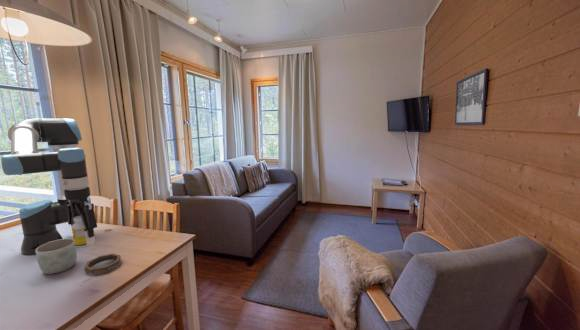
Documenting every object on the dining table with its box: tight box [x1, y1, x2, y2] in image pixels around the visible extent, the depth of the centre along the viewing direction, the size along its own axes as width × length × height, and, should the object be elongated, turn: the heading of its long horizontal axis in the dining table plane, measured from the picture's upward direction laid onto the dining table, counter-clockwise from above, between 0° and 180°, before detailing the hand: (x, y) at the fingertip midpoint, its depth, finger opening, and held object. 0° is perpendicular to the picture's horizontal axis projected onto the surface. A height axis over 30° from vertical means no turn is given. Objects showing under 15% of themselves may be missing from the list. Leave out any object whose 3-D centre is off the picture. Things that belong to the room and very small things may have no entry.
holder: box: [84, 253, 122, 276], centre depth 107 cm, size 12×12×3 cm
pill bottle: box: [71, 215, 96, 248], centre depth 98 cm, size 6×6×12 cm
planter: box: [35, 238, 77, 275], centre depth 106 cm, size 12×12×11 cm
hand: (85, 242), depth 99 cm, fingers closed on pill bottle, 6 cm apart
